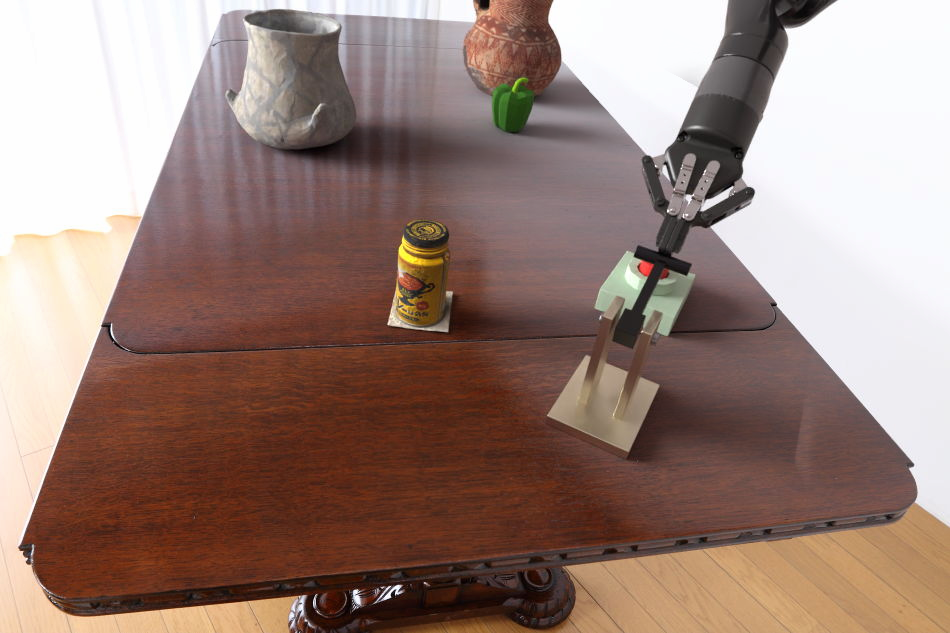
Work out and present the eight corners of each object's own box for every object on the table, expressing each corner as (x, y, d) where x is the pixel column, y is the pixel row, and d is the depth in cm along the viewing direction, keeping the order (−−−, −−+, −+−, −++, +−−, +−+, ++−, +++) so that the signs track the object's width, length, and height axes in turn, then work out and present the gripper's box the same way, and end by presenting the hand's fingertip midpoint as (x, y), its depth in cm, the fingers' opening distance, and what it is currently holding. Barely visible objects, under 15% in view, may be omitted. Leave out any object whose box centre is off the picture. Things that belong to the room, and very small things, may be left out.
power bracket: (583, 362, 80) (609, 271, 73) (657, 392, 78) (691, 301, 70) (544, 423, 71) (569, 327, 64) (626, 460, 69) (662, 364, 61)
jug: (559, 86, 163) (582, -29, 148) (547, 114, 146) (571, -12, 131) (470, 68, 166) (483, -46, 151) (448, 94, 149) (460, -31, 134)
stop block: (621, 269, 98) (630, 239, 95) (689, 293, 95) (700, 263, 92) (594, 308, 89) (603, 277, 86) (667, 337, 86) (679, 305, 83)
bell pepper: (492, 134, 133) (499, 84, 127) (485, 119, 140) (491, 69, 134) (533, 137, 135) (542, 87, 129) (524, 121, 141) (533, 73, 135)
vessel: (248, 108, 129) (239, -6, 117) (365, 123, 130) (368, 12, 118) (208, 154, 112) (193, 26, 100) (343, 171, 113) (344, 47, 101)
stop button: (643, 261, 92) (646, 250, 90) (669, 271, 90) (673, 260, 89) (635, 273, 89) (639, 262, 88) (662, 283, 88) (666, 272, 87)
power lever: (636, 253, 75) (640, 239, 73) (689, 272, 73) (694, 257, 71) (594, 334, 69) (596, 320, 67) (650, 356, 67) (655, 343, 65)
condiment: (387, 326, 81) (392, 240, 74) (396, 286, 88) (401, 204, 81) (447, 333, 81) (458, 248, 74) (452, 293, 88) (462, 211, 81)
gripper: (668, 76, 73) (604, 220, 71) (794, 110, 69) (730, 264, 67) (666, 111, 80) (608, 243, 78) (780, 144, 76) (722, 284, 74)
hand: (664, 252), depth 73 cm, fingers closed
